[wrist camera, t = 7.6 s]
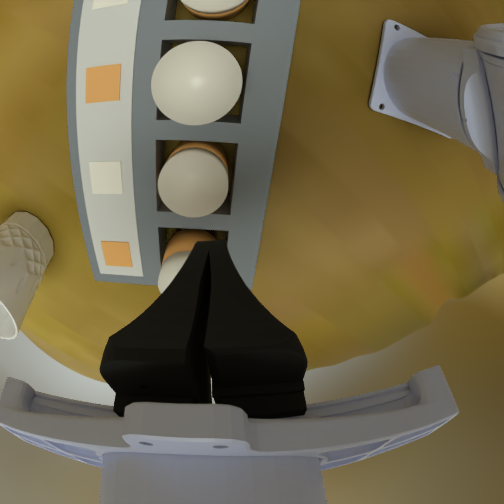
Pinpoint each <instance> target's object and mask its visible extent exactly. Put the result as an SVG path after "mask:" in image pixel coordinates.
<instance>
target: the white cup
mask: <svg viewBox="0 0 504 504" xmlns="http://www.w3.org/2000/svg"><path fill="white" fill-rule="evenodd" d="M53 254H54V248H53V240H52V238H51V236H50V233H49V231H48V229H47V228H46V227H45V226H44V224H43V223H42V222H41V221H40V220H39V219H38V218H37V217H35V216H33V215H31V214H30V213H28V212H15V213H14V214H12V215H11V216H10V217H8V218H7V219H6V220H5V221H4V222H3V223H2V224H1V225H0V338H2V339H7V340H12V339H14V338H16V337H17V335H18V332H19V330H20V327H21V325H22V322H23V320H24V317H25V315H26V313H27V310H28V308H29V306H30V304H31V302H32V300H33V298H34V295H35V292H36V291H37V289H38V287H39V284H40V282H41V280H42V278H43V275H44V272H45V269H46V268H47V266H48V264H49V262H50V260H51V258H52V256H53Z"/></svg>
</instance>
